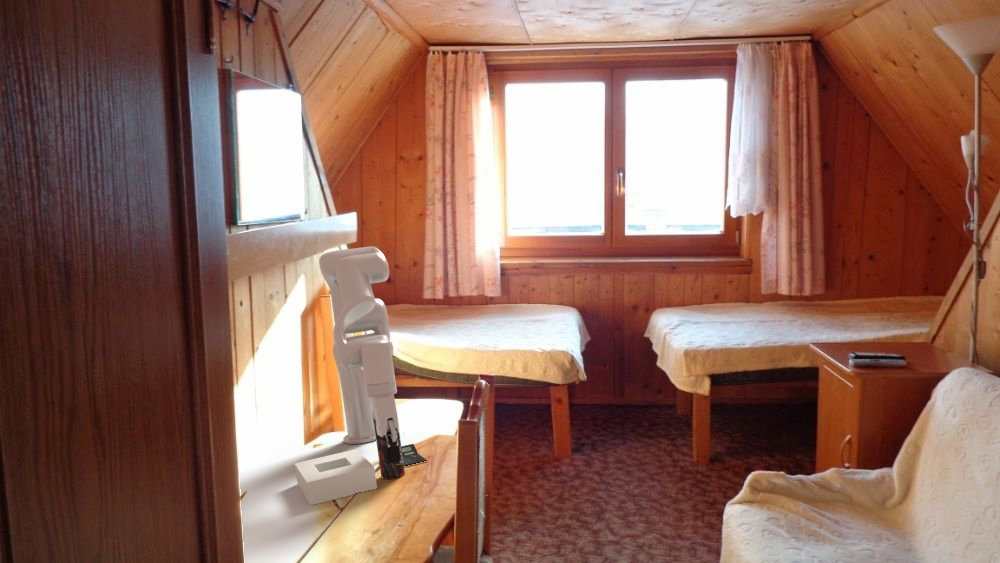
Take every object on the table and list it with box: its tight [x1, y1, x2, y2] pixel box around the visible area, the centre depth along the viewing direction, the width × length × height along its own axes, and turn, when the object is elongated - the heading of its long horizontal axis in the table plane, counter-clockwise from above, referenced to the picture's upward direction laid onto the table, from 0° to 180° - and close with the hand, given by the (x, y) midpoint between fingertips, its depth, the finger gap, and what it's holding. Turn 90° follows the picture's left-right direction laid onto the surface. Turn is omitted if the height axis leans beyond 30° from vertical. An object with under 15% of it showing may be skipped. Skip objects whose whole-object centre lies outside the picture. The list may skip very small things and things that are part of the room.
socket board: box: [293, 448, 378, 506], centre depth 193 cm, size 20×16×6 cm
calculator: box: [401, 443, 428, 466], centre depth 208 cm, size 9×12×3 cm
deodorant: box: [373, 418, 406, 480], centre depth 196 cm, size 6×6×15 cm
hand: (390, 458), depth 196 cm, fingers closed on deodorant, 5 cm apart
